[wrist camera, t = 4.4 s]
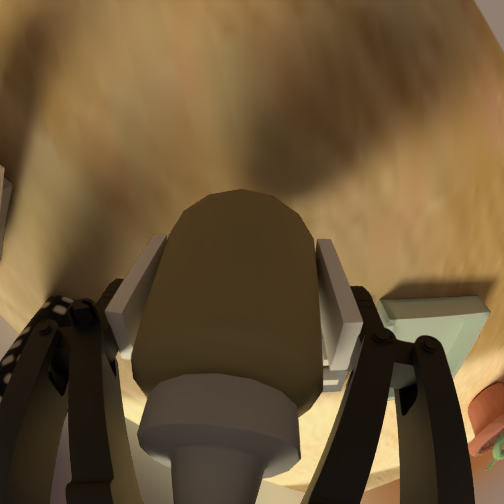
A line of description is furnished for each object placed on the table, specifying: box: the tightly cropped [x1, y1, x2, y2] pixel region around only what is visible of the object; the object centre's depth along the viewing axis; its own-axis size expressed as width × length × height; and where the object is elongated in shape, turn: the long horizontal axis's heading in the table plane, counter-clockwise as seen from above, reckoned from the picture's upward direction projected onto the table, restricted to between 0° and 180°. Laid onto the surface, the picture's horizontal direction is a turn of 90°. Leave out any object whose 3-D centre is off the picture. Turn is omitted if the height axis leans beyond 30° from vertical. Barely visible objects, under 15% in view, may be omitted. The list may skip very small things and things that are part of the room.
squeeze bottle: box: [131, 189, 323, 504], centre depth 12 cm, size 8×8×18 cm
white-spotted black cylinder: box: [0, 296, 75, 420], centre depth 21 cm, size 8×8×20 cm
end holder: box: [377, 296, 491, 401], centre depth 28 cm, size 13×13×3 cm
